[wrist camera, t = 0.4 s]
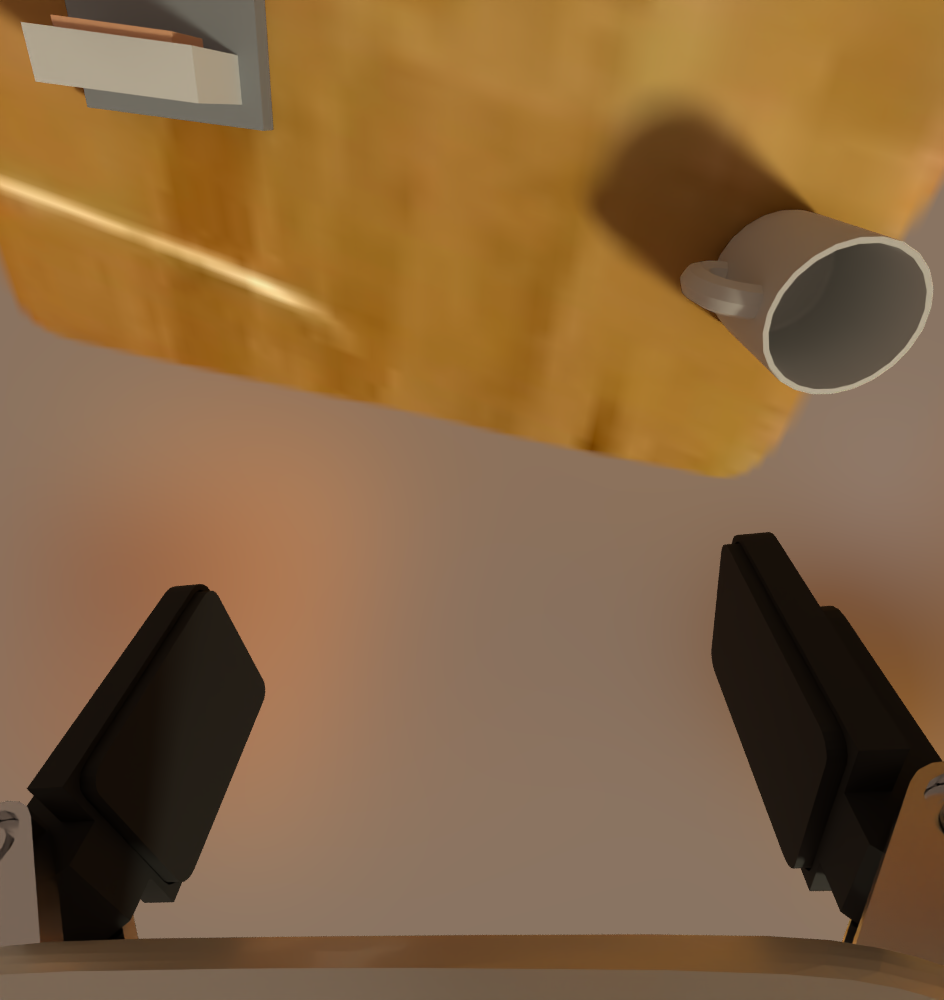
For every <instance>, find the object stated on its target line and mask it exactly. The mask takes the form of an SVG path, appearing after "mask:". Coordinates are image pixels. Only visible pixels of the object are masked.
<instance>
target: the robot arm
mask: <svg viewBox="0 0 944 1000" xmlns="http://www.w3.org/2000/svg"><path fill="white" fill-rule="evenodd" d="M711 654H712V663H713V667H714V671H715V674H716V676H717V679H718V682H719V684H720V687H721V690H722V692H723V695H724V697H725V700H726V703H727V706H728V708H729V711H730V713H731V716H732V719H733V722H734V724H735V727H736V730H737V732H738V735H739V738H740V740H741V743H742V746H743V748H744V751H745V754H746V757H747V759H748V762H749V764H750V767H751V770H752V772H753V775H754V778H755V781H756V783H757V786H758V789H759V791H760V794H761V796H762V799H763V802H764V805H765V807H766V810H767V813H768V815H769V818H770V821H771V823H772V826H773V829H774V831H775V834H776V837H777V839H778V842H779V845H780V847H781V850H782V853H783V855H784V857H785V860H786V862H787V863H788V865H789V866H790V867H791V868H801V870H802V873H803V875H804V878H805V880H806V883H807V885H808V888H809V890H810V891H832V893H833V895H834V897H835V899H836V902H837V904H838V907H839V909H840V911H841V912H842V913H843V914H845V915H846V916H847V917H849V918H850V920H849V923H848V926H847V929H846V932H845V934H844V937H843V940H842V942H838V941H832V940H819V939H803V938H787V937H772V936H729V935H728V936H726V935H661V934H655V935H654V934H627V935H626V934H616V935H615V934H614V935H613V934H612V935H611V934H610V935H609V934H607V935H605V934H602V935H427V936H426V935H422V936H421V935H415V936H315V937H313V936H311V937H309V936H308V937H238V938H237V937H236V938H235V937H231V938H165V939H164V938H163V939H138V934H137V929H136V925H135V920H134V915H133V914H134V911H135V909H136V907H137V905H138V903H139V901H140V899H141V900H142V901H143V902H144V903H148V902H149V903H152V902H153V903H154V902H174V900H175V898H176V895H177V893H178V891H179V888H180V886H181V883H182V882H184V881H185V880H187V879H188V878H189V877H190V875H191V874H192V872H193V870H194V868H195V865H196V863H197V861H198V859H199V856H200V854H201V851H202V849H203V846H204V844H205V841H206V839H207V837H208V834H209V832H210V829H211V827H212V825H213V822H214V820H215V817H216V815H217V812H218V810H219V808H220V805H221V803H222V800H223V798H224V795H225V793H226V791H227V788H228V786H229V783H230V781H231V778H232V776H233V774H234V771H235V769H236V766H237V764H238V761H239V759H240V756H241V754H242V752H243V749H244V746H245V744H246V742H247V739H248V737H249V735H250V732H251V730H252V727H253V725H254V722H255V720H256V717H257V715H258V713H259V710H260V708H261V705H262V703H263V700H264V696H265V685H264V681H263V679H262V677H261V675H260V673H259V672H258V670H257V668H256V666H255V664H254V662H253V660H252V658H251V656H250V655H249V653H248V651H247V649H246V647H245V645H244V643H243V642H242V640H241V638H240V636H239V634H238V632H237V630H236V629H235V627H234V625H233V623H232V621H231V619H230V617H229V615H228V614H227V612H226V610H225V608H224V606H223V604H222V602H221V600H220V598H219V596H218V595H217V594H216V593H215V592H214V591H210V590H209V589H208V587H207V586H205V585H203V584H196V585H186V586H175V587H172V588H170V589H169V590H168V591H167V592H166V593H165V594H164V596H163V597H162V598H161V600H160V601H159V603H158V604H157V606H156V607H155V608H154V610H153V611H152V613H151V614H150V615H149V617H148V618H147V620H146V621H145V622H144V624H143V625H142V627H141V628H140V629H139V631H138V632H137V634H136V636H135V637H134V638H133V639H132V641H131V642H130V644H129V645H128V646H127V648H126V649H125V651H124V652H123V654H122V655H121V657H120V658H119V659H118V661H117V662H116V664H115V665H114V666H113V668H112V669H111V670H110V672H109V673H108V675H107V676H106V678H105V679H104V680H103V682H102V683H101V685H100V686H99V687H98V689H97V690H96V692H95V693H94V694H93V696H92V698H91V699H90V700H89V702H88V703H87V704H86V706H85V707H84V709H83V710H82V712H81V713H80V714H79V716H78V717H77V719H76V720H75V721H74V723H73V724H72V726H71V727H70V728H69V730H68V731H67V733H66V734H65V736H64V737H63V738H62V740H61V741H60V743H59V744H58V745H57V747H56V748H55V750H54V751H53V752H52V754H51V755H50V757H49V758H48V760H47V761H46V762H45V764H44V765H43V767H42V768H41V769H40V771H39V772H38V774H37V775H36V777H35V778H34V780H33V781H32V782H31V784H30V785H29V786H28V788H27V789H28V790H29V791H30V792H31V793H32V794H33V795H34V796H33V798H32V799H31V801H30V802H29V804H28V805H27V806H25V805H24V804H22V803H21V802H16V801H5V802H2V803H0V1000H944V761H942V760H941V758H940V757H939V755H938V754H937V753H936V751H935V750H934V748H933V747H932V745H931V744H930V742H929V741H928V739H927V738H926V736H925V735H924V733H923V732H922V730H921V729H920V727H919V726H918V724H917V723H916V721H915V720H914V718H913V717H912V715H911V714H910V712H909V711H908V710H907V708H906V706H905V705H904V704H903V702H902V701H901V699H900V698H899V696H898V695H897V693H896V692H895V690H894V689H893V687H892V686H891V684H890V683H889V681H888V680H887V678H886V677H885V675H884V674H883V672H882V671H881V669H880V668H879V666H878V665H877V664H876V662H875V661H874V659H873V657H872V656H871V655H870V653H869V652H868V650H867V649H866V647H865V646H864V644H863V643H862V642H861V640H860V638H859V637H858V635H857V634H856V632H855V631H854V629H853V628H852V626H851V625H850V623H849V622H848V620H847V619H846V618H845V616H844V615H843V614H842V613H841V611H840V610H839V609H837V608H835V607H834V606H822V607H820V606H819V604H818V603H817V601H816V600H815V598H814V596H813V595H812V593H811V592H810V590H809V588H808V587H807V585H806V584H805V582H804V581H803V579H802V578H801V576H800V575H799V573H798V571H797V570H796V568H795V567H794V565H793V563H792V562H791V560H790V559H789V557H788V556H787V554H786V552H785V551H784V549H783V548H782V546H781V544H780V543H779V541H778V540H777V538H776V537H775V536H774V534H772V533H770V532H766V533H755V534H743V535H736V536H734V538H733V541H732V544H727V545H723V547H722V551H721V561H720V571H719V580H718V590H717V601H716V611H715V620H714V631H713V640H712V653H711Z"/></svg>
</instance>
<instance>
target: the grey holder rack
mask: <svg viewBox="0 0 944 1000" xmlns="http://www.w3.org/2000/svg"><path fill="white" fill-rule="evenodd" d="M65 4H66V9H67V13H68V17H65V16H58V15H51V14H50V15H51V20H52V24H53V26H47V25H40V24H32V23H25V22H21V25H22V29H23V33H24V37H25V41H26V45H27V49H28V53H29V57H30V61H31V65H32V69H33V73H34V77H35V81H36V82H44V83H51V84H58V85H66V86H73V87H81V88H84V93H85V97H86V102H87V107H91V108H98V109H106V110H113V111H121V112H128V113H136V114H143V115H151V116H158V117H166V118H173V119H180V120H188V121H195V122H203V123H210V124H218V125H225V126H233V127H240V128H248V129H255V130H262V131H266V130H273V118H272V103H271V88H270V73H269V58H268V43H267V28H266V13H265V0H65Z"/></svg>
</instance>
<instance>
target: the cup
mask: <svg viewBox="0 0 944 1000" xmlns="http://www.w3.org/2000/svg"><path fill="white" fill-rule="evenodd" d="M680 282H681V289H682V293H683V294H684V295H685V296H686V297H687V298H688V299H690V300H691V301H693V302H695V303H696V304H698V305H700V306H701V307H703V308H705V309H707V310H709V311H712V312H714V313H716V315H717V317H718V318H719V320H720V321H721V322H722V323H723V324H724V326H725V327H726V328H727V329H728V330H729V332H731V333H732V334H733V335H734V336H735V337H736V338H737V339H738V340H739V341H740V342H741V343H742V344H743V345H744V346H745V347H746V348H747V349H748V350H749V351H750V352H751V353H752V354H753V355H754V356H755V357H756V358H757V359H758V360H759V361H760V362H761V363H762V364H763V365H764V366H765V367H766V368H767V369H768V370H769V371H770V372H771V373H772V374H773V375H774V376H775V377H776V378H777V379H778V380H780V381H781V382H782V383H784V384H786V385H788V386H789V387H791V388H793V389H794V390H798V391H802V392H806V393H810V394H833V393H837V392H842V391H846V390H850V389H853V388H856V387H858V386H860V385H862V384H865V383H867V382H869V381H871V380H873V379H875V378H876V377H878V376H879V375H881V374H882V373H883V372H885V371H886V370H887V369H889V368H891V367H892V366H893V365H894V364H895V363H896V362H897V361H898V360H899V359H900V358H901V357H902V356H903V355H904V354H905V353H906V352H907V351H908V350H909V349H910V348H911V346H912V345H913V343H914V342H915V340H916V339H917V337H918V336H919V334H920V333H921V331H922V330H923V328H924V325H925V323H926V320H927V317H928V315H929V313H930V310H931V304H932V296H933V283H932V278H931V274H930V269H929V268H928V266H927V264H926V263H925V261H924V259H923V258H922V256H921V255H920V253H919V252H917V251H916V250H915V249H913V248H912V247H910V246H909V245H907V244H906V243H905V242H903V241H900V240H896V239H893V238H890V237H887V236H884V235H881V234H878V233H875V232H872V231H869V230H866V229H863V228H860V227H857V226H853V225H850V224H847V223H844V222H841V221H838V220H835V219H832V218H829V217H826V216H823V215H819V214H816V213H812V212H808V211H805V210H781V211H777V212H774V213H771V214H767V215H764V216H762V217H760V218H758V219H757V220H755V221H753V222H752V223H750V224H748V225H746V226H745V227H744V228H743V229H742V230H741V231H740V232H739V233H738V234H736V235H735V236H734V237H733V238H732V239H731V240H730V242H729V243H728V245H727V246H726V247H725V249H724V250H723V252H722V253H721V254H720V257H719V259H718V261H709V260H708V261H702V262H697V263H692V264H690V265H689V266H688V267H687V268H686V269H685V271H684V272H683V273H682V275H681V276H680Z"/></svg>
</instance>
